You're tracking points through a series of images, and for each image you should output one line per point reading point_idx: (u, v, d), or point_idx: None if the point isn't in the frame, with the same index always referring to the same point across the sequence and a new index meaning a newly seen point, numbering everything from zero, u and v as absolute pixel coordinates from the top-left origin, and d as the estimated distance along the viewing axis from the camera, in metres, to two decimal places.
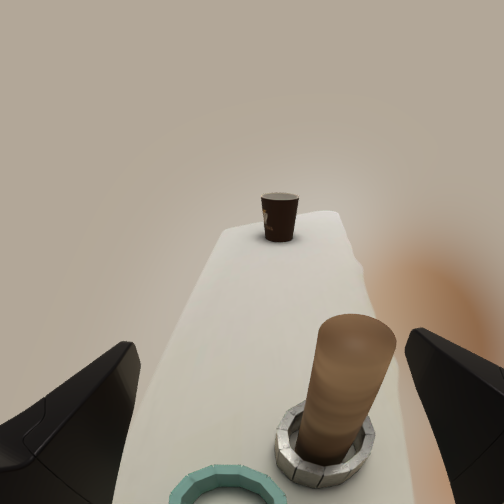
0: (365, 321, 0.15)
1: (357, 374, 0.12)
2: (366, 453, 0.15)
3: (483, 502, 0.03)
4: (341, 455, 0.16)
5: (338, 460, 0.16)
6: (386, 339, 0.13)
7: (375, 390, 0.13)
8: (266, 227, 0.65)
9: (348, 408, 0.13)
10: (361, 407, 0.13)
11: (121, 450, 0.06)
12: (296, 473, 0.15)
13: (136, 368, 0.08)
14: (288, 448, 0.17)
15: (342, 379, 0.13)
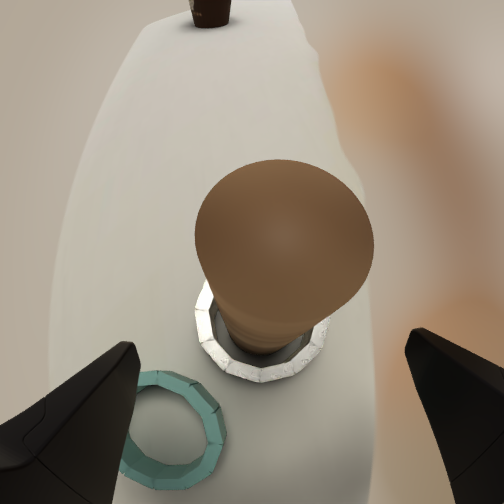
0: (308, 181, 0.07)
1: (281, 326, 0.06)
2: (317, 347, 0.15)
3: (483, 502, 0.03)
4: None
5: None
6: (352, 238, 0.07)
7: None
8: (194, 14, 0.36)
9: (276, 339, 0.09)
10: (300, 334, 0.09)
11: (121, 450, 0.06)
12: None
13: (136, 368, 0.08)
14: (211, 341, 0.15)
15: (252, 324, 0.07)
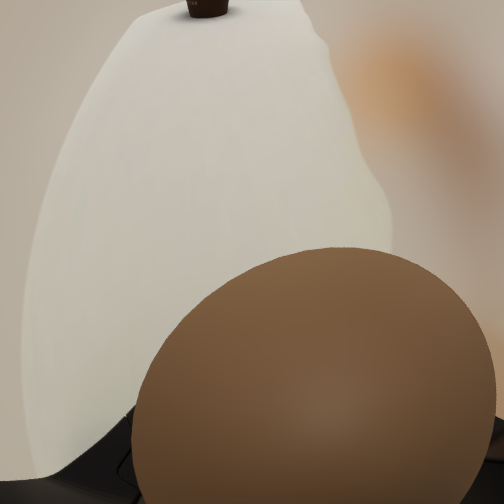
0: (405, 311, 0.03)
1: None
2: None
3: None
4: None
5: None
6: (468, 432, 0.02)
7: None
8: (189, 3, 0.31)
9: None
10: None
11: None
12: None
13: None
14: None
15: None
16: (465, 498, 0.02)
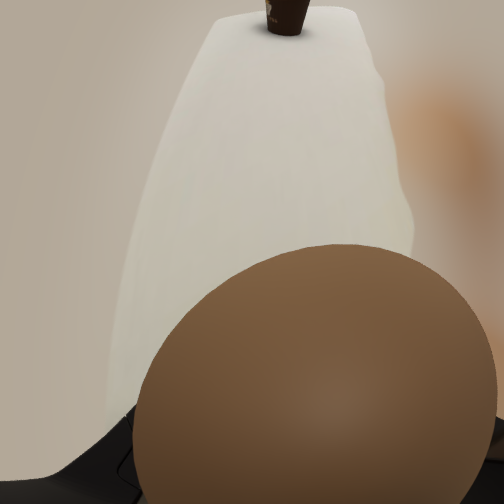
0: (407, 308, 0.03)
1: None
2: None
3: None
4: None
5: None
6: (469, 430, 0.02)
7: None
8: (269, 19, 0.38)
9: None
10: None
11: None
12: None
13: None
14: None
15: None
16: (465, 498, 0.02)
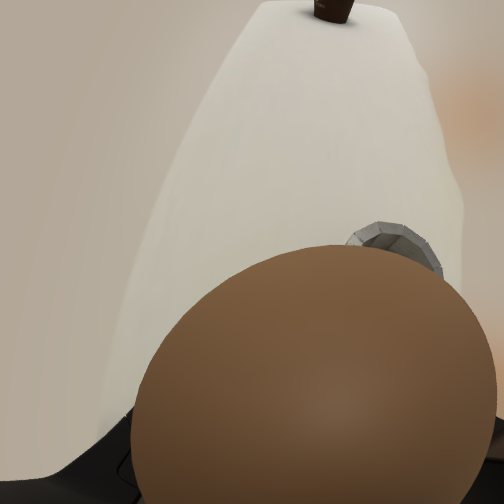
0: (405, 309, 0.03)
1: None
2: None
3: None
4: None
5: None
6: (468, 431, 0.02)
7: None
8: (317, 4, 0.35)
9: None
10: None
11: None
12: None
13: None
14: None
15: None
16: (465, 498, 0.02)
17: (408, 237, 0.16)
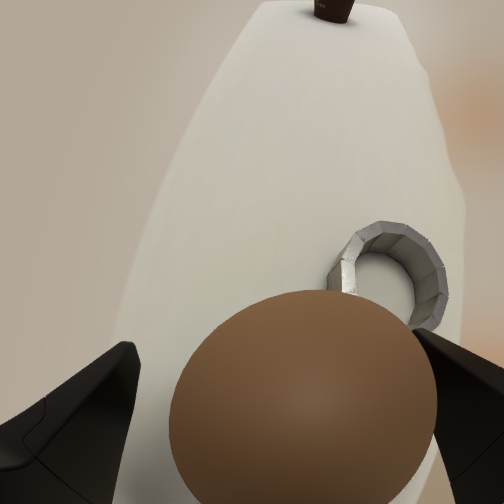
0: (357, 334, 0.04)
1: None
2: (436, 321, 0.14)
3: (483, 502, 0.03)
4: None
5: None
6: (410, 425, 0.03)
7: None
8: (317, 4, 0.35)
9: None
10: None
11: (121, 450, 0.06)
12: None
13: (136, 368, 0.08)
14: (354, 293, 0.15)
15: None
16: None
17: (410, 236, 0.16)
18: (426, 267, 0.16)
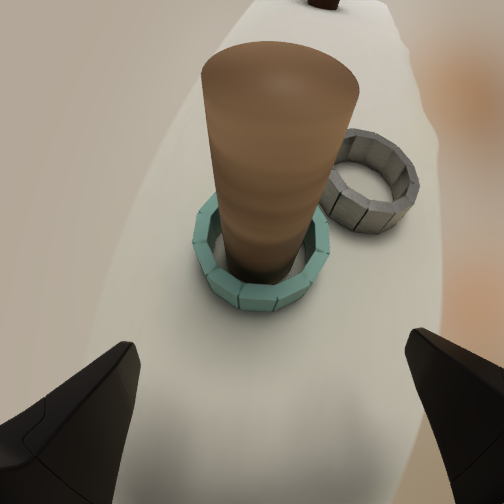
0: (299, 51, 0.07)
1: (279, 138, 0.06)
2: (410, 201, 0.17)
3: (483, 502, 0.03)
4: (284, 267, 0.16)
5: (282, 273, 0.16)
6: (339, 80, 0.07)
7: (322, 173, 0.08)
8: None
9: (275, 203, 0.09)
10: (300, 202, 0.09)
11: (121, 450, 0.06)
12: (338, 202, 0.18)
13: (136, 368, 0.08)
14: (333, 170, 0.18)
15: (251, 148, 0.07)
16: None
17: (380, 140, 0.19)
18: (398, 167, 0.19)
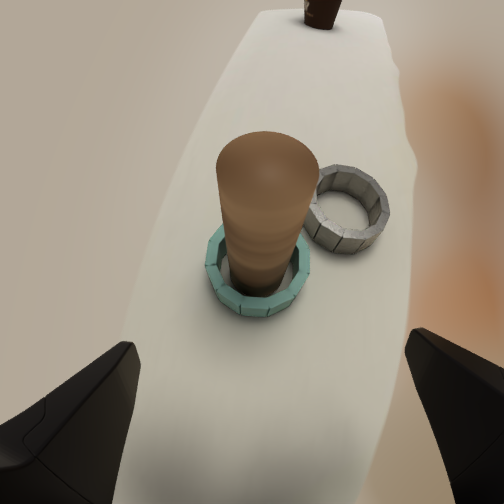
0: (281, 142, 0.12)
1: (264, 217, 0.11)
2: (380, 228, 0.22)
3: (483, 502, 0.03)
4: (275, 283, 0.21)
5: (273, 287, 0.21)
6: (306, 170, 0.12)
7: (295, 229, 0.13)
8: (306, 13, 0.43)
9: (264, 247, 0.14)
10: (281, 246, 0.14)
11: (121, 450, 0.06)
12: (319, 230, 0.23)
13: (136, 368, 0.08)
14: (315, 204, 0.23)
15: (248, 220, 0.12)
16: None
17: (358, 174, 0.24)
18: (373, 196, 0.24)
